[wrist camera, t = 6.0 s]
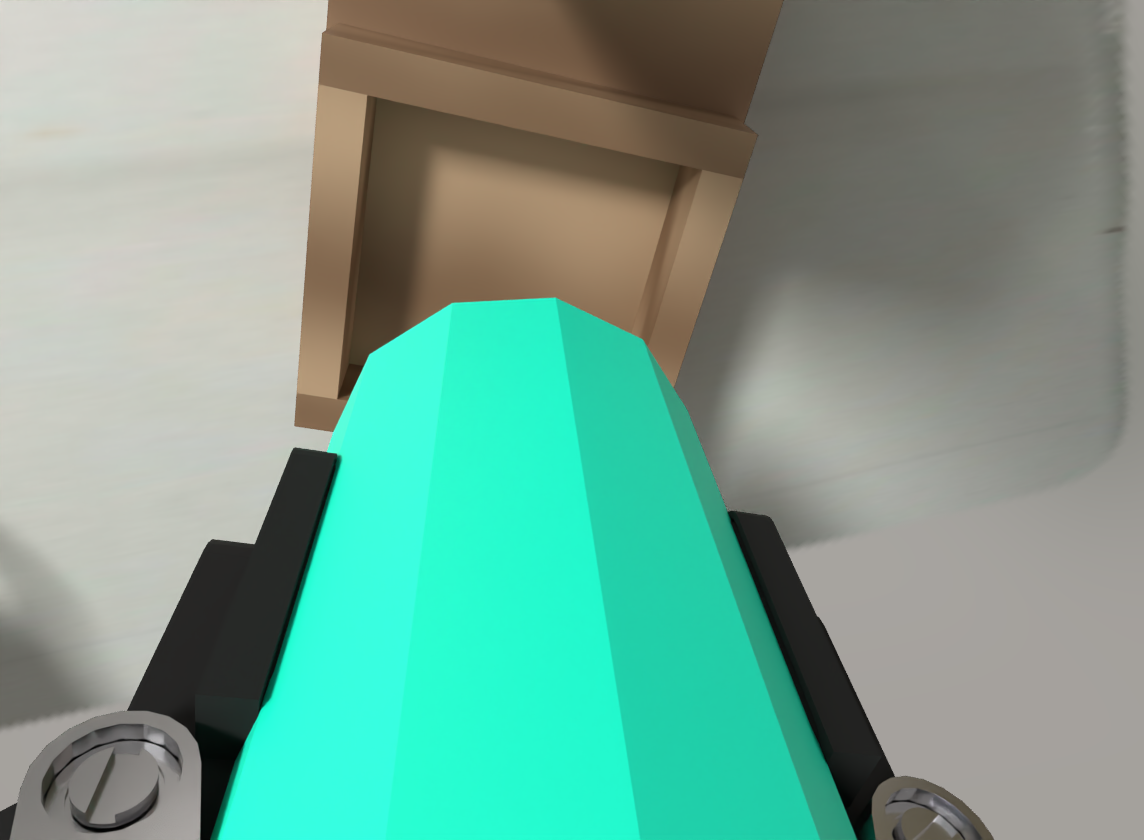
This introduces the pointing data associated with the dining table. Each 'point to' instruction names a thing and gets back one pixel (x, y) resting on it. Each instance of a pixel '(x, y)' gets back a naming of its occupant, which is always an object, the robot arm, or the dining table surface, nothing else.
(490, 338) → the candle
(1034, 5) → the dining table surface
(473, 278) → the brown wooden stand
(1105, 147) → the dining table surface
